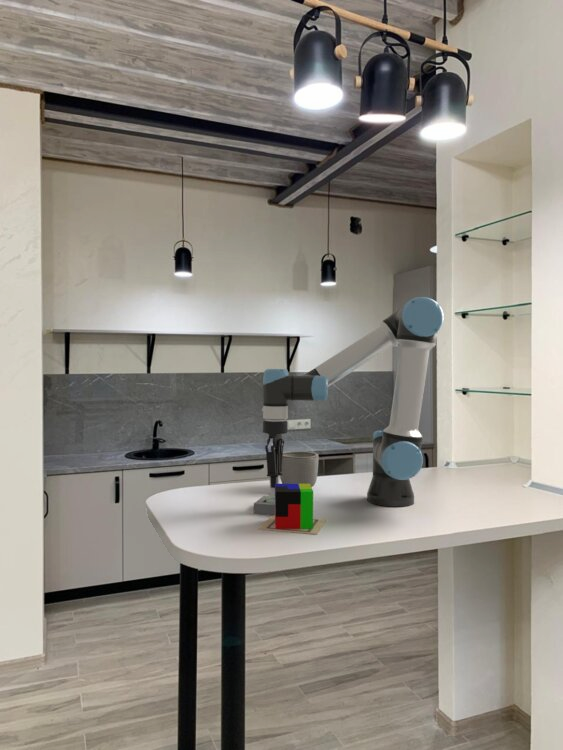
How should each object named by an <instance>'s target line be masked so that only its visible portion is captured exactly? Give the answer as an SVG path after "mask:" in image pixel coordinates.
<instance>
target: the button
mask: <svg viewBox="0 0 563 750" xmlns="http://www.w3.org/2000/svg"><path fill="white" fill-rule="evenodd" d="M266 503H275V498H270V497H267V498H266Z"/></svg>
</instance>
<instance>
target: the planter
mask: <svg viewBox="0 0 563 750" xmlns="http://www.w3.org/2000/svg"><path fill="white" fill-rule="evenodd" d="M319 459H320V456H319V454H318V453H317V452H314V451H313V452H312V451H306V450H305V451H304V450H303V451H302V450H293V451H292V450H291V451H290V450H289V451H283V460H282V472H280V473H283V475H282V476H281V475H279V476H280V483H281V484H310V485H311V487H312V488H313V487H314V486H315V484H316V483H317V478H318V473H319V461H320V460H319Z"/></svg>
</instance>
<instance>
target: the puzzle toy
mask: <svg viewBox="0 0 563 750" xmlns="http://www.w3.org/2000/svg"><path fill="white" fill-rule="evenodd" d="M274 516H275V528H276V529H313V519H314V490H313V487H311V485H310V484H282V483H280V484H275V515H274Z"/></svg>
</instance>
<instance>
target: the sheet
mask: <svg viewBox="0 0 563 750" xmlns="http://www.w3.org/2000/svg"><path fill="white" fill-rule="evenodd" d="M326 522H327V519H320V518H319V519H318V518H313V529H276V528H275V515H270V517H269V518H268V519H266V520H265V521H264V522H263V523H262V524H261V525H260V526H259V527H258V528H257V529H258V530H260V529H262V530H261V531H271V530H274V531H273V532H283V533H292V534H293V533H295V534H305V535H319V532H320V531H321V529H322V527H323V526H324V524H326Z"/></svg>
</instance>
